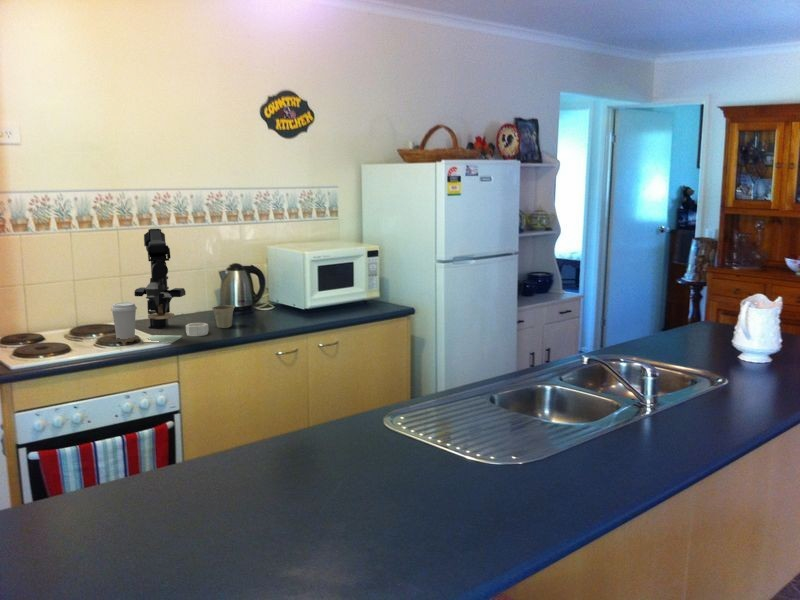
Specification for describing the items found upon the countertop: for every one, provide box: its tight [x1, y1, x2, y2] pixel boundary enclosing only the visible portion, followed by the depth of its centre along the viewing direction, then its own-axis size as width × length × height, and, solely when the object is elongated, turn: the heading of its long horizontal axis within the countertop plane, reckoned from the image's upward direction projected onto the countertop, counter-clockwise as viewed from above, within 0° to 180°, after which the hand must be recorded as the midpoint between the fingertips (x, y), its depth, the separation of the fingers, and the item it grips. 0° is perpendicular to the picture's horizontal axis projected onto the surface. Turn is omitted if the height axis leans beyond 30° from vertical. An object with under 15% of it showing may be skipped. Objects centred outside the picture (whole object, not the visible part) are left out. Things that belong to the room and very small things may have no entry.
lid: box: [147, 304, 175, 320], centre depth 290 cm, size 10×10×5 cm
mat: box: [146, 334, 183, 344], centre depth 292 cm, size 12×11×1 cm
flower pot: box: [211, 304, 236, 329], centre depth 317 cm, size 9×9×9 cm
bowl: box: [185, 322, 209, 337], centre depth 302 cm, size 8×8×4 cm
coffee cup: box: [110, 301, 138, 339], centre depth 287 cm, size 10×10×15 cm
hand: (161, 313), depth 290 cm, fingers closed on lid, 2 cm apart
